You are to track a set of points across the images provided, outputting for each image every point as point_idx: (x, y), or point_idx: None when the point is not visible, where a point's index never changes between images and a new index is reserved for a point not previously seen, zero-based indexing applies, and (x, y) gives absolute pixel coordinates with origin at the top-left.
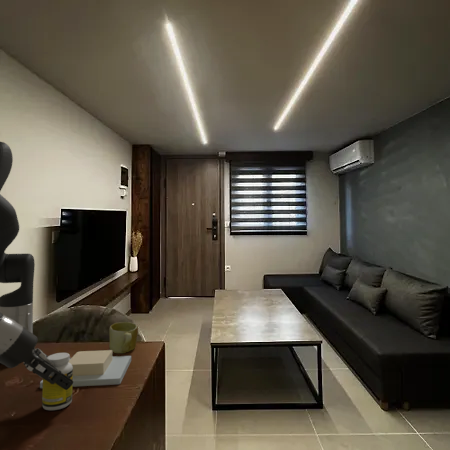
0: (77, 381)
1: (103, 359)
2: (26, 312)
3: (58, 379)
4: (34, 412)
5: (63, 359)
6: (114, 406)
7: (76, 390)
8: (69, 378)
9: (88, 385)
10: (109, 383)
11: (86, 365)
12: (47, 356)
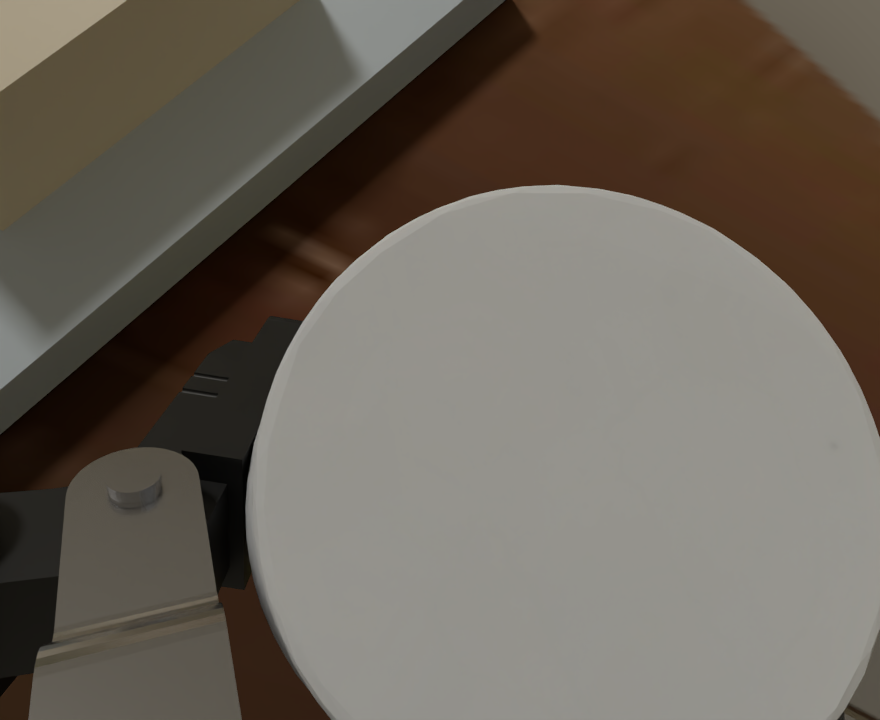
0: (231, 203)
1: None
2: None
3: None
4: None
5: (876, 460)
6: (822, 212)
7: (313, 268)
8: None
9: (317, 159)
10: (449, 39)
11: (146, 8)
12: (239, 706)
